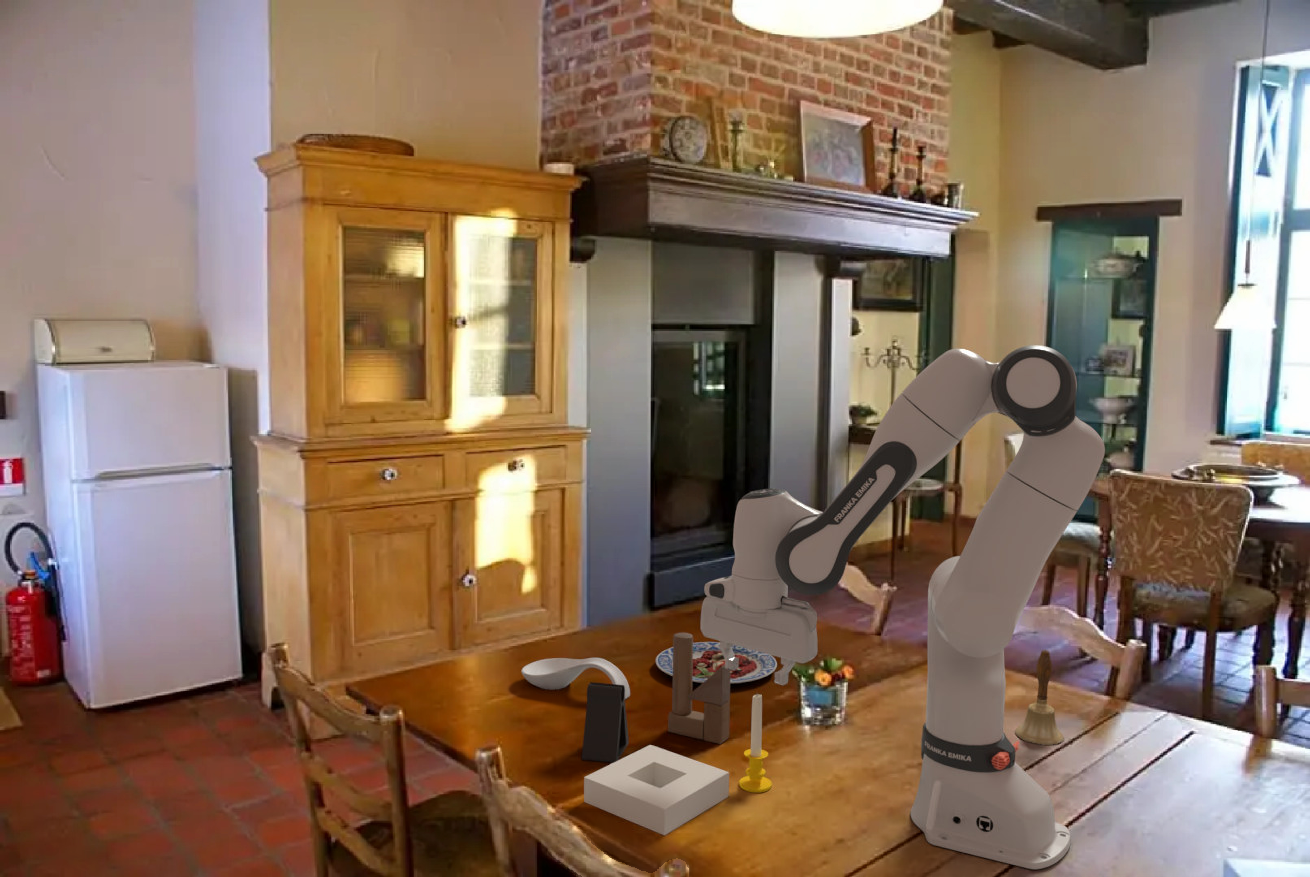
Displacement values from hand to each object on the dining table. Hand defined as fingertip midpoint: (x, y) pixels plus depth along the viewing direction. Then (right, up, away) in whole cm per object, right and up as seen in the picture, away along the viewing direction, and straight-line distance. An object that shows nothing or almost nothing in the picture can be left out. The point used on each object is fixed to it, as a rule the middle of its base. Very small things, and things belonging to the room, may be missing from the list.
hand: (755, 676), depth 164 cm
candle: (0, -18, +2) cm, 18 cm away
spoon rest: (-32, -13, +44) cm, 56 cm away
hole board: (-16, -19, -3) cm, 24 cm away
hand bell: (+54, -16, +23) cm, 60 cm away
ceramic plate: (-3, -12, +56) cm, 57 cm away
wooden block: (-8, -16, +22) cm, 28 cm away
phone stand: (-25, -17, +15) cm, 33 cm away
